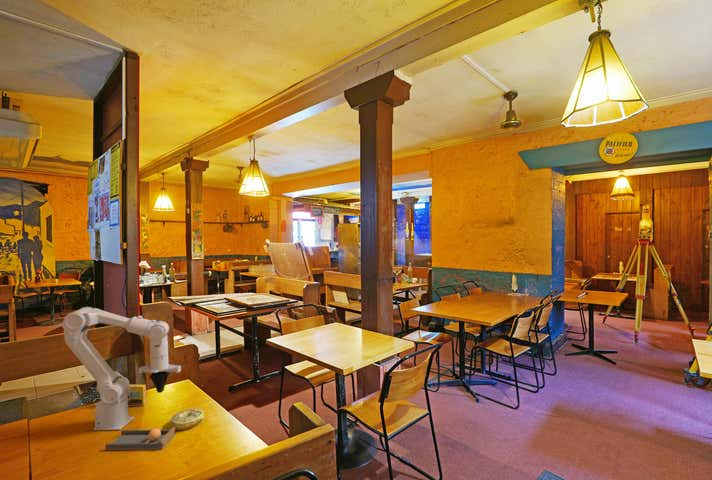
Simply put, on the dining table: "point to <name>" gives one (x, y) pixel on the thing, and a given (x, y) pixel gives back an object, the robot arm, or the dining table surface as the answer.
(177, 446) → the dining table surface
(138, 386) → the candy box
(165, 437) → the lane
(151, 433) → the ball
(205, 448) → the dining table surface
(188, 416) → the decorated donut
